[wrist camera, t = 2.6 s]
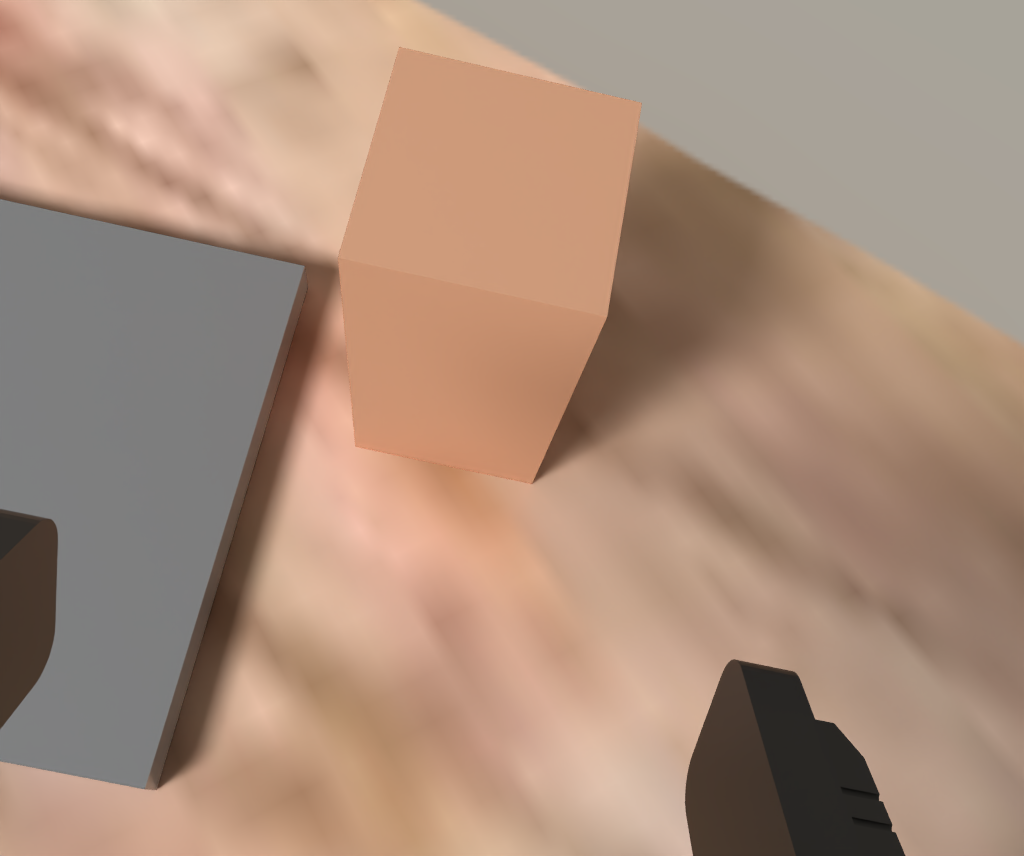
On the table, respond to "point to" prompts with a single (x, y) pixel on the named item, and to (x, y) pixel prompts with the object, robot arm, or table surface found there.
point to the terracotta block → (480, 261)
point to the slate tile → (129, 463)
